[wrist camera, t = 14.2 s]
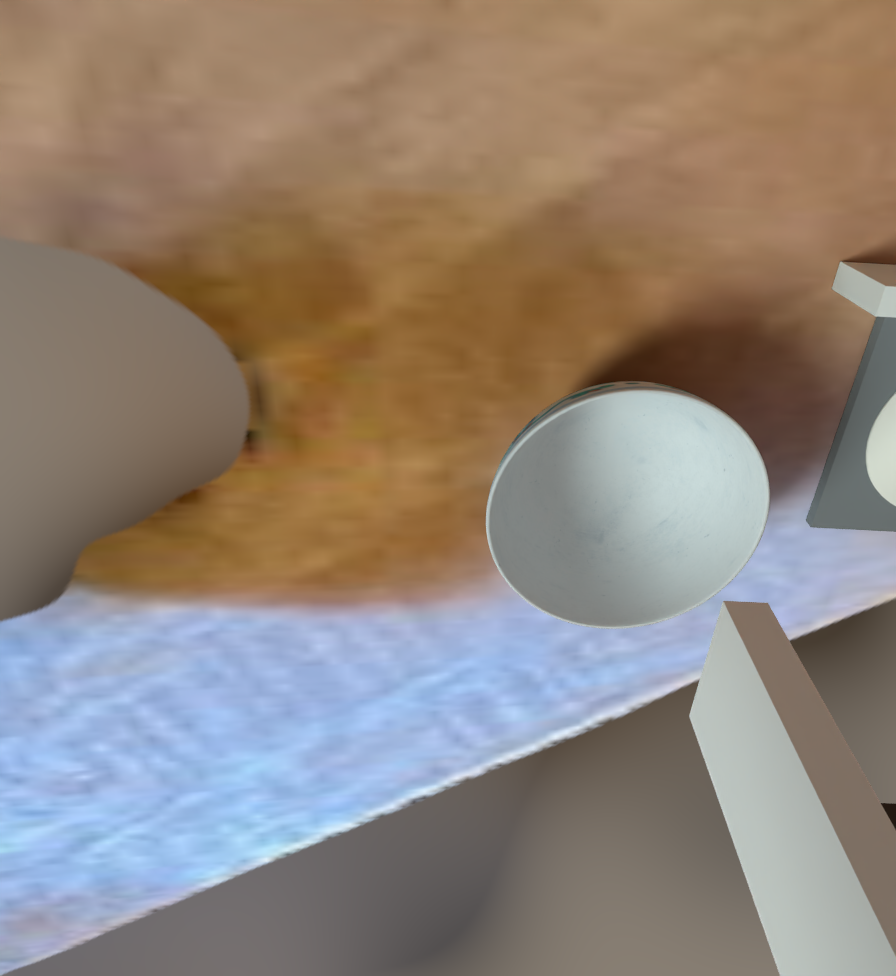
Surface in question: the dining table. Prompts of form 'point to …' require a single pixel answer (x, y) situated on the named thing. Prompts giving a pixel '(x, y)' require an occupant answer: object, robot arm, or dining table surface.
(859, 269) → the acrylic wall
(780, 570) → the dining table surface
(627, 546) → the chinaware
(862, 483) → the rubber mat
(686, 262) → the dining table surface
